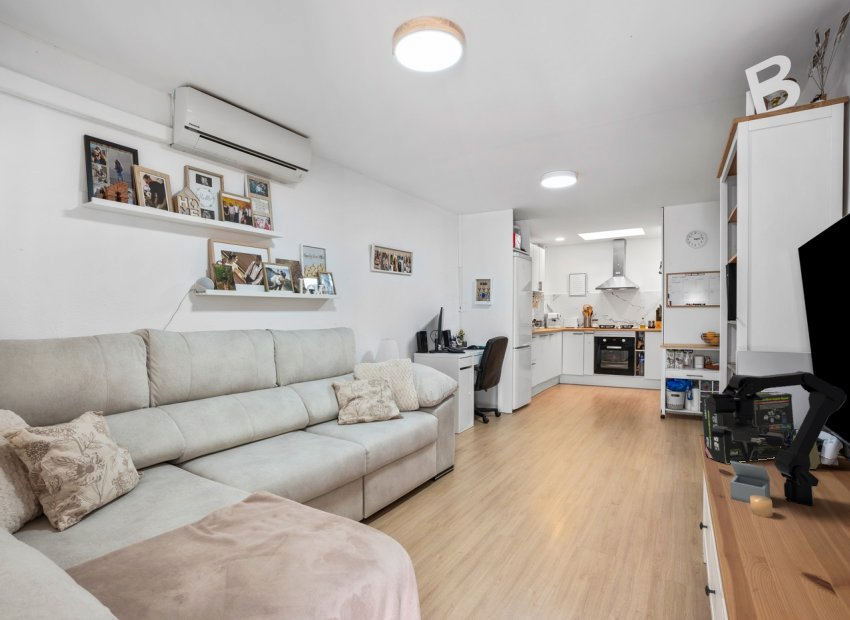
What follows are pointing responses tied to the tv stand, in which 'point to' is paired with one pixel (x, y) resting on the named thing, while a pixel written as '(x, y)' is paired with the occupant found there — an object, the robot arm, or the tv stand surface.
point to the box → (748, 488)
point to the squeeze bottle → (812, 455)
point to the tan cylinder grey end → (761, 506)
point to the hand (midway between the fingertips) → (747, 461)
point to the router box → (769, 418)
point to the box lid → (750, 470)
